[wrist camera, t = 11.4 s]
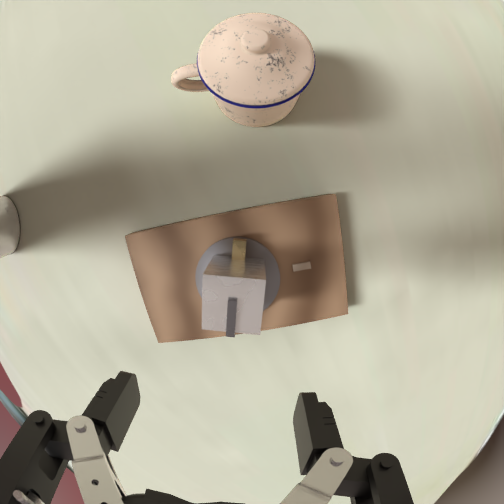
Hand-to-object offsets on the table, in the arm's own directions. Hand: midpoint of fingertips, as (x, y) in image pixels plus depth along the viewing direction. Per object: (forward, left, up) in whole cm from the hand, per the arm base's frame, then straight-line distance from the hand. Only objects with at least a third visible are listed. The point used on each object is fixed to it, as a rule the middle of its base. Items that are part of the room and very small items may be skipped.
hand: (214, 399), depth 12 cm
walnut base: (0, 0, -19) cm, 19 cm away
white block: (0, 0, -16) cm, 16 cm away
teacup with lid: (+4, +19, -19) cm, 28 cm away
